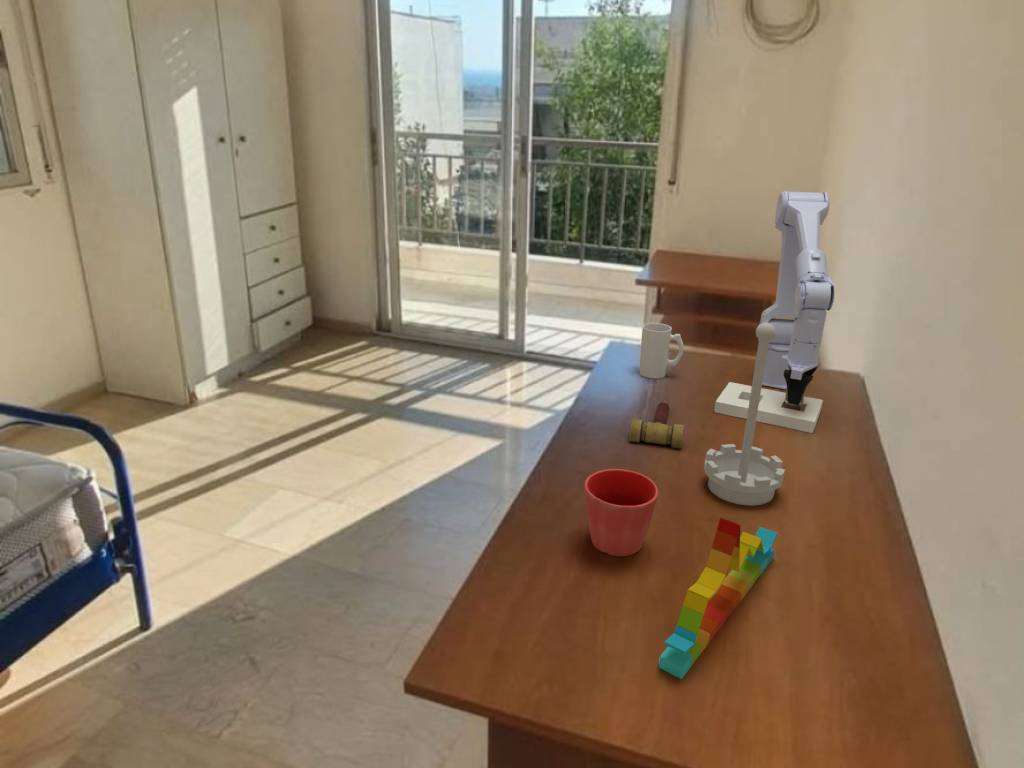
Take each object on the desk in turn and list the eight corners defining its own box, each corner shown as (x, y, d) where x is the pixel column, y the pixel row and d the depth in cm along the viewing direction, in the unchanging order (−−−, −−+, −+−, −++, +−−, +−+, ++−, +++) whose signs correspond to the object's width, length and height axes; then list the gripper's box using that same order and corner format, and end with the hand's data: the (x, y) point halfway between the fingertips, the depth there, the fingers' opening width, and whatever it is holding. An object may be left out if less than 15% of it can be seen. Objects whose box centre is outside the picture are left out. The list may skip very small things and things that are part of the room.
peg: (785, 408, 156) (789, 373, 153) (802, 411, 154) (808, 376, 151) (781, 414, 153) (786, 378, 150) (799, 417, 151) (805, 381, 148)
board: (728, 392, 166) (729, 381, 165) (820, 410, 157) (822, 400, 156) (714, 412, 155) (715, 401, 154) (812, 433, 146) (815, 422, 145)
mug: (635, 376, 173) (640, 329, 169) (641, 367, 179) (645, 321, 175) (677, 383, 170) (683, 334, 166) (682, 373, 176) (687, 326, 172)
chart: (751, 552, 109) (766, 463, 103) (772, 560, 107) (789, 470, 101) (656, 668, 86) (669, 563, 81) (681, 681, 84) (696, 575, 79)
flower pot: (597, 568, 104) (601, 510, 100) (571, 526, 113) (574, 472, 110) (664, 558, 106) (671, 500, 103) (633, 518, 116) (638, 464, 112)
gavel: (642, 390, 158) (689, 396, 156) (640, 409, 160) (686, 415, 157) (630, 422, 139) (683, 430, 137) (628, 444, 140) (680, 452, 138)
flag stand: (785, 513, 118) (818, 339, 107) (703, 503, 121) (727, 332, 109) (774, 475, 130) (803, 314, 119) (700, 466, 132) (721, 308, 121)
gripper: (791, 326, 155) (781, 385, 160) (779, 345, 143) (769, 408, 148) (826, 332, 152) (814, 391, 157) (817, 352, 140) (805, 415, 145)
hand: (795, 400), depth 152 cm, fingers closed on peg, 4 cm apart
